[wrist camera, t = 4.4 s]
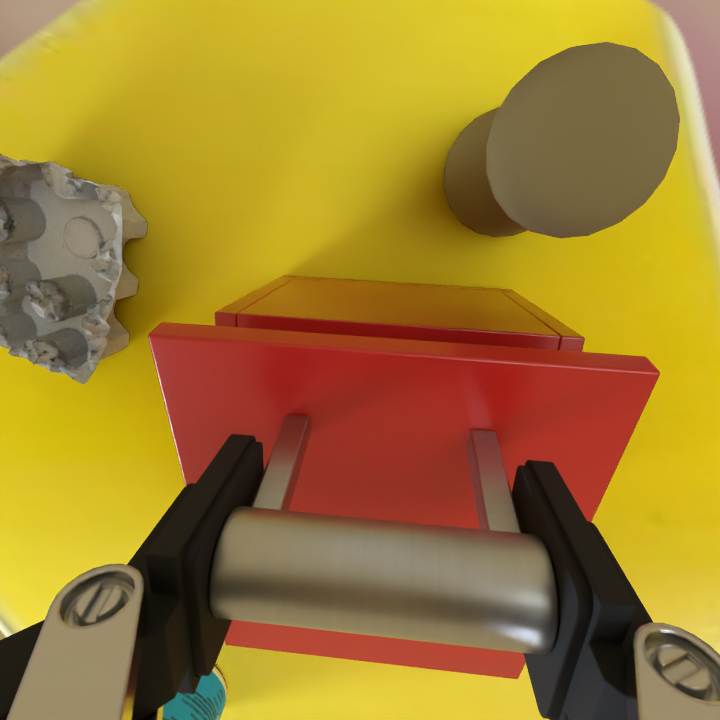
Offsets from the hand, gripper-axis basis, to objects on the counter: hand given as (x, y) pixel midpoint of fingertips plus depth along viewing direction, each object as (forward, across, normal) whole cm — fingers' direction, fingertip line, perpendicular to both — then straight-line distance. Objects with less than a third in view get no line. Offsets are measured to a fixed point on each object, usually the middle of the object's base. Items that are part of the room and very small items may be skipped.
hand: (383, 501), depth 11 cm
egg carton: (+15, +18, -2) cm, 24 cm away
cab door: (+4, 0, +4) cm, 5 cm away
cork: (+16, -5, -8) cm, 18 cm away
